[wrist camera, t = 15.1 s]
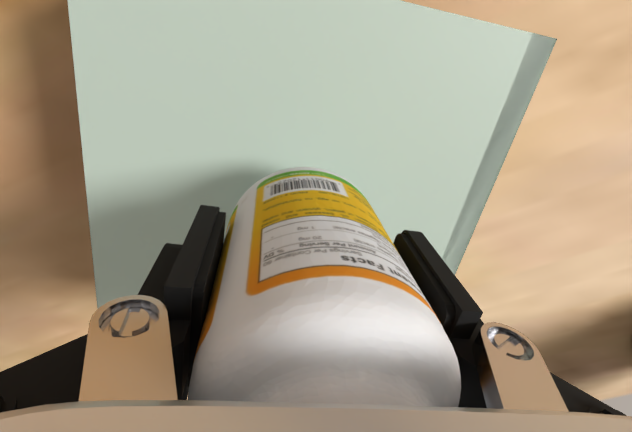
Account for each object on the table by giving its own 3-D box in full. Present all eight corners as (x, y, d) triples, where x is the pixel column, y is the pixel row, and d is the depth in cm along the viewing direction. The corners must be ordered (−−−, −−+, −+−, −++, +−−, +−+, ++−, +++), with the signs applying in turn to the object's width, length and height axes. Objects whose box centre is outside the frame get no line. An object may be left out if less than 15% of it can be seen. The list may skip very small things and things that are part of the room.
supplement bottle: (298, 312, 15) (332, 698, 6) (196, 232, 13) (26, 652, 4) (401, 232, 14) (626, 574, 5) (307, 129, 11) (411, 411, 3)
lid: (495, 39, 16) (556, 38, 13) (397, 307, 23) (419, 356, 20) (116, -51, 13) (59, -84, 10) (131, 286, 20) (100, 339, 17)
